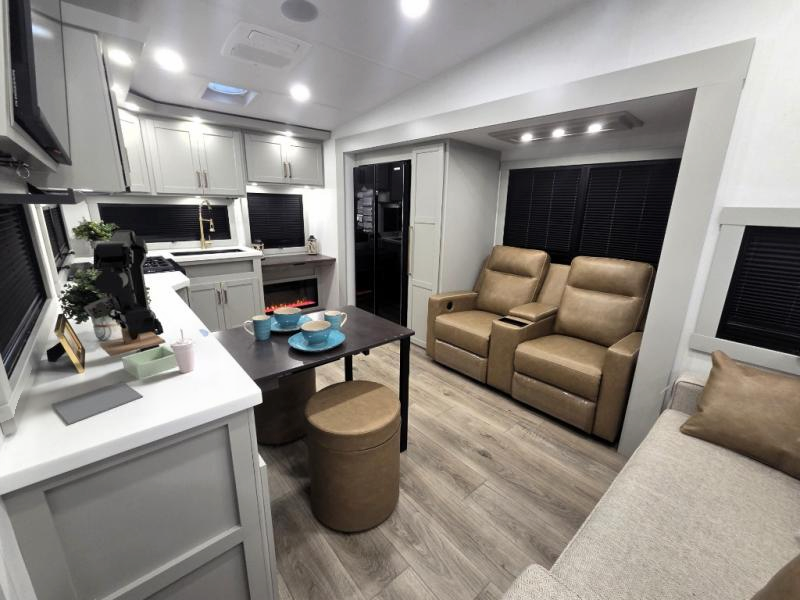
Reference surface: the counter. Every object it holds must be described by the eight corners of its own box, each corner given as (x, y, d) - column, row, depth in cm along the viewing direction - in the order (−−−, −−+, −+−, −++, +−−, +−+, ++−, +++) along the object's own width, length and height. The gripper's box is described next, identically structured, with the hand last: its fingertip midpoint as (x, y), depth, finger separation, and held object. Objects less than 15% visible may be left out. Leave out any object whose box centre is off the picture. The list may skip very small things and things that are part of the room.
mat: (52, 405, 88) (51, 404, 88) (122, 382, 100) (121, 380, 100) (68, 425, 80) (68, 423, 80) (143, 397, 92) (142, 395, 92)
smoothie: (188, 376, 104) (180, 333, 100) (170, 374, 105) (162, 331, 101) (203, 366, 110) (196, 326, 106) (186, 365, 111) (179, 324, 107)
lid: (99, 345, 100) (96, 330, 99) (151, 333, 110) (148, 319, 109) (110, 356, 92) (106, 339, 91) (165, 342, 102) (162, 327, 101)
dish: (124, 370, 108) (121, 357, 107) (166, 357, 118) (163, 345, 117) (139, 380, 102) (136, 367, 100) (182, 365, 111) (180, 353, 110)
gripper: (72, 288, 95) (85, 340, 99) (96, 296, 85) (109, 354, 89) (120, 282, 104) (131, 330, 108) (147, 288, 94) (157, 341, 98)
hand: (131, 338), depth 100 cm, fingers closed on lid, 4 cm apart
